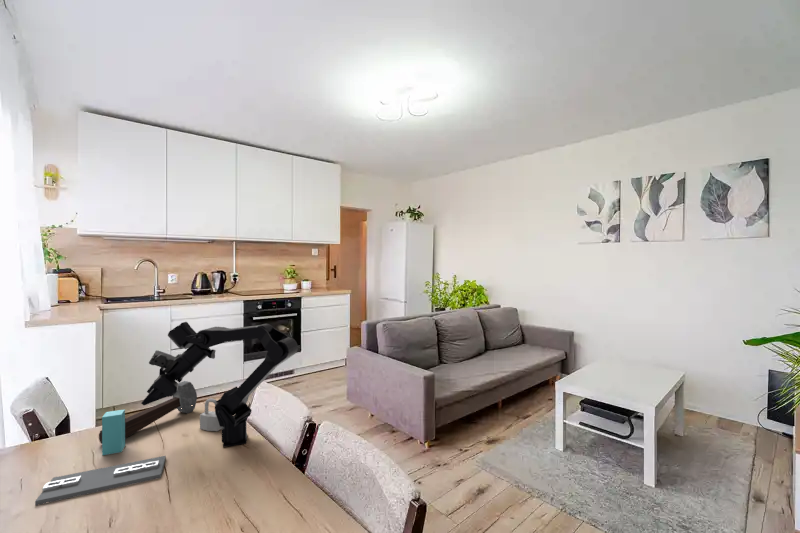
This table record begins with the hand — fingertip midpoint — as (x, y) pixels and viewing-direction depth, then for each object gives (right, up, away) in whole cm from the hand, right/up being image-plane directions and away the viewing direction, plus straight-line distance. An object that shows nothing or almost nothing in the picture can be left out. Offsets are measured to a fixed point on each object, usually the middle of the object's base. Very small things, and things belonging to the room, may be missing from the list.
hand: (145, 398), depth 109 cm
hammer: (-7, -15, +14) cm, 21 cm away
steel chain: (+2, -14, -17) cm, 22 cm away
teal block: (-8, -14, -2) cm, 17 cm away
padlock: (+14, -15, +12) cm, 23 cm away
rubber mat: (+2, -15, -17) cm, 22 cm away
